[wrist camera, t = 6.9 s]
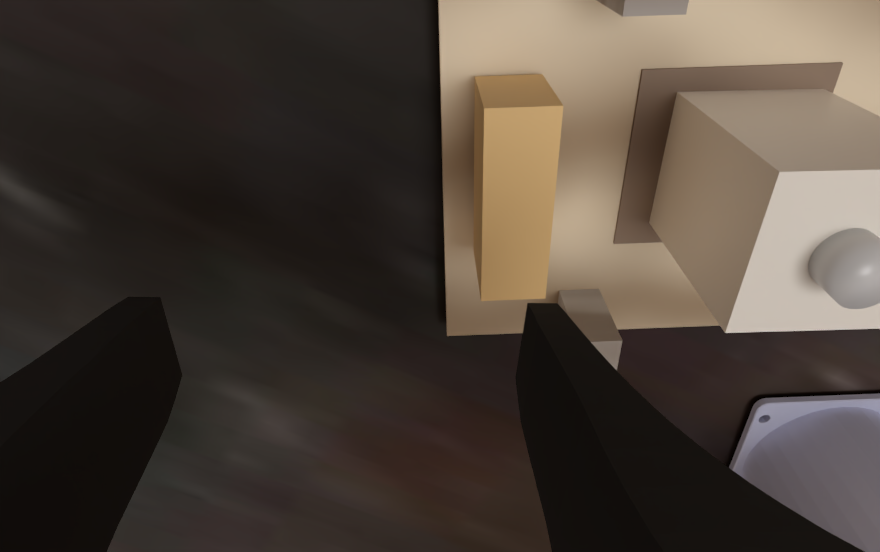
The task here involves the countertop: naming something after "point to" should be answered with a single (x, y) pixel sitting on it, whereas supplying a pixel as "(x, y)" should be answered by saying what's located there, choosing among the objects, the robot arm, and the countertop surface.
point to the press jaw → (514, 184)
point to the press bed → (623, 132)
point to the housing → (774, 208)
